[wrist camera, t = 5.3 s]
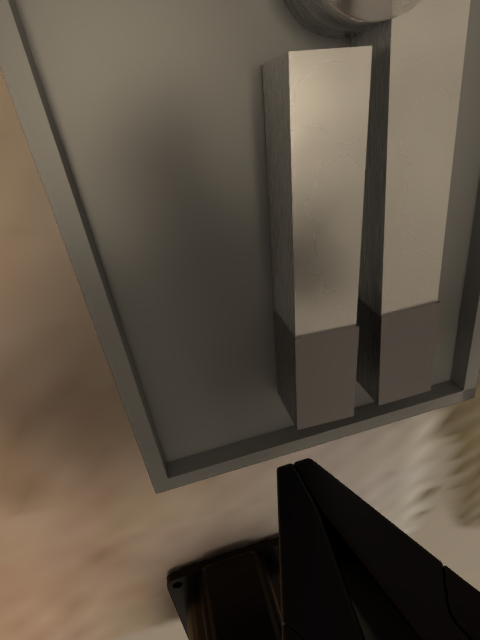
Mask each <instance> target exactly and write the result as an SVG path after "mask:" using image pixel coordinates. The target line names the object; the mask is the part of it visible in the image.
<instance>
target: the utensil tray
mask: <svg viewBox="0 0 480 640" xmlns="http://www.w3.org/2000/svg"><path fill="white" fill-rule="evenodd" d="M346 47H349V36H348V37H344V38H327V37H323V36H320V35H317V34H315V33H313V32H311V31H309V30H308V29H306V28H305V27H304V26H302V25H301V24H300V23H299V22H298V21H297V20H296V19H295V18H294V16H293V15H292V14H291V12H290V11H289V10H288V8H287V6H286V5H285V3H284V1H283V0H0V68H1V71H2V74H3V77H4V79H5V82H6V85H7V87H8V90H9V93H10V96H11V98H12V101H13V104H14V107H15V109H16V112H17V115H18V118H19V120H20V123H21V126H22V129H23V131H24V134H25V137H26V140H27V142H28V145H29V148H30V150H31V153H32V156H33V159H34V161H35V164H36V167H37V170H38V172H39V175H40V178H41V181H42V183H43V186H44V189H45V192H46V194H47V197H48V200H49V203H50V205H51V208H52V211H53V213H54V216H55V219H56V222H57V224H58V227H59V230H60V233H61V235H62V238H63V241H64V244H65V246H66V249H67V252H68V255H69V257H70V260H71V263H72V266H73V268H74V271H75V274H76V277H77V279H78V282H79V285H80V287H81V290H82V293H83V296H84V298H85V301H86V304H87V307H88V309H89V312H90V315H91V318H92V320H93V323H94V326H95V329H96V331H97V334H98V337H99V340H100V342H101V345H102V348H103V350H104V353H105V356H106V359H107V361H108V364H109V367H110V370H111V372H112V375H113V378H114V381H115V383H116V386H117V389H118V392H119V394H120V397H121V400H122V403H123V405H124V408H125V411H126V413H127V416H128V419H129V422H130V424H131V427H132V430H133V433H134V435H135V438H136V441H137V444H138V446H139V449H140V452H141V455H142V457H143V460H144V463H145V466H146V468H147V471H148V474H149V476H150V479H151V482H152V485H153V487H154V490H155V493H156V494H157V493H161V492H164V491H167V490H170V489H174V488H177V487H180V486H184V485H187V484H190V483H194V482H197V481H200V480H204V479H207V478H210V477H214V476H217V475H220V474H223V473H227V472H230V471H233V470H237V469H240V468H243V467H247V466H250V465H253V464H257V463H260V462H263V461H267V460H270V459H273V458H276V457H280V456H283V455H286V454H290V453H293V452H296V451H300V450H303V449H306V448H310V447H313V446H316V445H319V444H323V443H326V442H329V441H333V440H336V439H339V438H343V437H346V436H349V435H353V434H356V433H359V432H363V431H366V430H369V429H372V428H376V427H379V426H382V425H386V424H389V423H392V422H396V421H399V420H402V419H406V418H409V417H412V416H416V415H419V414H422V413H425V412H429V411H432V410H435V409H439V408H442V407H445V406H449V405H452V404H455V403H459V402H462V401H465V400H469V399H472V398H474V395H475V390H476V384H477V379H478V373H479V368H480V0H471V1H470V10H469V19H468V28H467V37H466V46H465V55H464V64H463V73H462V82H461V92H460V101H459V110H458V119H457V128H456V137H455V146H454V155H453V164H452V173H451V182H450V192H449V201H448V210H447V219H446V228H445V237H444V246H443V255H442V264H441V273H440V282H439V292H438V301H439V302H441V306H440V314H439V323H438V332H437V341H436V349H435V358H434V367H433V375H432V384H431V390H430V391H427V392H423V393H420V394H417V395H413V396H410V397H406V398H403V399H400V400H396V401H393V402H389V403H386V404H383V405H379V406H378V405H377V403H376V402H375V401H374V400H373V399H372V398H371V397H370V395H369V394H368V393H367V392H366V391H365V390H364V389H363V387H362V386H361V385H360V384H359V383H358V382H357V381H356V387H355V403H354V416H352V417H348V418H344V419H340V420H336V421H332V422H328V423H324V424H320V425H316V426H312V427H308V428H304V429H300V430H297V428H296V427H295V425H294V423H293V421H292V419H291V417H290V415H289V414H288V412H287V410H286V408H285V406H284V404H283V402H282V401H281V399H280V397H279V395H278V391H277V372H276V353H275V335H274V316H273V311H275V308H274V289H273V269H272V249H271V230H270V210H269V190H268V171H267V151H266V132H265V112H264V92H263V73H262V64H264V63H266V62H268V61H270V60H272V59H274V58H276V57H278V56H280V55H282V54H284V53H287V52H289V51H303V50H317V49H332V48H346Z"/></svg>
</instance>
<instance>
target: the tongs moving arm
mask: <svg viewBox="0 0 480 640" xmlns="http://www.w3.org/2000/svg"><path fill="white" fill-rule="evenodd" d="M371 62H372V46H360V47H346V48H332V49H317V50H303V51H289V52H287V53H284V54H282V55H280V56H278V57H276V58H274V59H272V60H270V61H268V62H266V63H264V64H262V73H263V92H264V112H265V132H266V151H267V171H268V190H269V210H270V230H271V249H272V269H273V289H274V308H275V311H273V316H274V335H275V353H276V372H277V391H278V395H279V397H280V399H281V401H282V402H283V404H284V406H285V408H286V410H287V412H288V414H289V415H290V417H291V419H292V421H293V423H294V425H295V427H296V428H297V430H300V429H304V428H308V427H312V426H316V425H320V424H324V423H328V422H332V421H336V420H340V419H344V418H348V417H352V416H354V403H355V387H356V371H357V355H358V339H359V326H358V325H357V324H356V320H357V302H358V285H359V268H360V251H361V234H362V216H363V199H364V182H365V165H366V148H367V131H368V113H369V96H370V79H371Z"/></svg>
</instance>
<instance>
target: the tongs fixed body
mask: <svg viewBox="0 0 480 640" xmlns="http://www.w3.org/2000/svg"><path fill="white" fill-rule="evenodd" d="M283 1H284V3H285V5H286V6H287V8H288V10H289V11H290V12H291V14H292V15H293V16H294V18H295V19H296V20H297V21H298V22H299V23H300V24H301V25H302V26H304V27H305V28H306V29H308V30H309V31H311V32H313V33H315V34H317V35H320V36H323V37H327V38H344V37H348V36H349V47H360V46H372V62H371V79H370V96H369V113H368V131H367V148H366V165H365V182H364V199H363V216H362V234H361V251H360V268H359V285H358V302H357V320H356V324H357V325H358V326H359V339H358V355H357V371H356V381H357V382H358V383H359V384H360V385H361V386H362V387H363V389H364V390H365V391H366V392H367V393H368V394H369V395H370V397H371V398H372V399H373V400H374V401H375V402H376V403H377V405H378V406H379V405H383V404H386V403H389V402H393V401H396V400H400V399H403V398H406V397H410V396H413V395H417V394H420V393H423V392H427V391H430V390H431V384H432V375H433V367H434V358H435V349H436V341H437V332H438V323H439V314H440V306H441V302H439V301H438V292H439V282H440V273H441V264H442V255H443V246H444V237H445V228H446V219H447V210H448V201H449V192H450V182H451V173H452V164H453V155H454V146H455V137H456V128H457V119H458V110H459V101H460V92H461V82H462V73H463V64H464V55H465V46H466V37H467V28H468V19H469V10H470V1H471V0H283Z"/></svg>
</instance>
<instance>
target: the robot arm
mask: <svg viewBox="0 0 480 640" xmlns="http://www.w3.org/2000/svg"><path fill="white" fill-rule="evenodd" d="M277 493H278V523H279V537H276V538H273V539H270V540H267V541H264V542H261V543H258V544H255V545H252V546H249V547H246V548H243V549H240V550H237V551H234V552H231V553H228V554H225V555H222V556H219V557H216V558H213V559H210V560H207V561H204V562H201V563H198V564H195V565H192V566H189V567H186V568H183V569H180V570H177V571H174V572H172V573H170V574H169V575H168V577H167V588H168V591H169V593H170V596H171V598H172V600H173V603H174V605H175V608H176V610H177V612H178V615H179V617H180V620H181V622H182V624H183V627H184V629H185V632H186V634H187V636H188V639H189V640H480V592H479V591H478V590H477V589H475V588H474V587H473V586H471V585H470V584H469V583H467V582H466V581H465V580H463V579H462V578H461V577H459V576H458V575H457V574H456V573H455V572H453V571H452V570H451V569H450V568H448V567H447V566H443V564H442V562H441V561H439V560H438V559H437V558H435V557H434V556H433V555H432V554H431V553H429V552H428V551H427V550H426V549H424V548H423V547H422V546H420V545H419V544H418V543H417V542H415V541H414V540H413V539H412V538H410V537H409V536H408V535H407V534H405V533H404V532H403V531H402V530H400V529H399V528H398V527H397V526H395V525H394V524H393V523H391V522H390V521H389V520H388V519H386V518H385V517H384V516H383V515H381V514H380V513H379V512H378V511H376V510H375V509H374V508H373V507H371V506H370V505H369V504H368V503H366V502H365V501H364V500H362V499H361V498H360V497H359V496H357V495H356V494H355V493H354V492H352V491H351V490H350V489H349V488H347V487H346V486H345V485H344V484H342V483H341V482H340V481H339V480H337V479H336V478H335V477H334V476H332V475H331V474H330V473H328V472H327V471H326V470H325V469H323V468H322V467H321V466H320V465H318V464H317V463H316V462H315V461H313V460H312V459H309V458H307V459H304V460H300V461H297V462H295V463H294V465H293V464H287V465H284V466H280V467H278V468H277Z"/></svg>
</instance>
